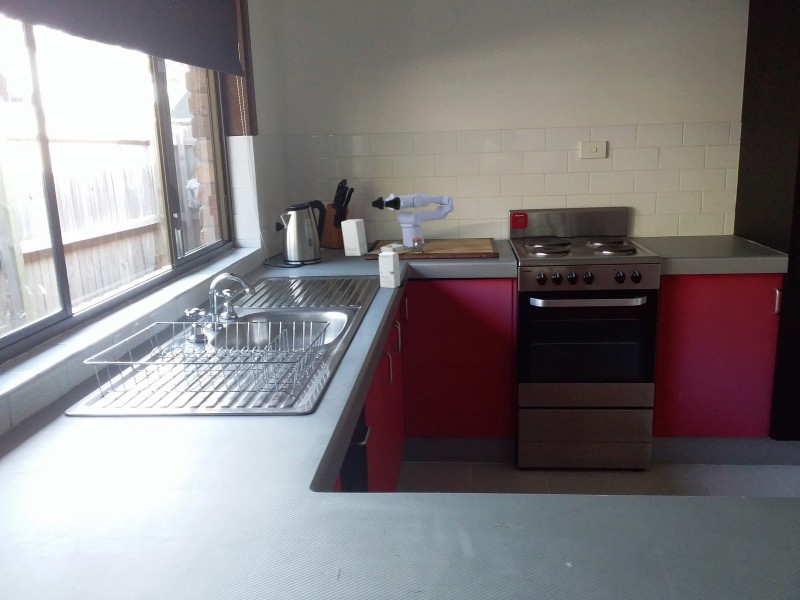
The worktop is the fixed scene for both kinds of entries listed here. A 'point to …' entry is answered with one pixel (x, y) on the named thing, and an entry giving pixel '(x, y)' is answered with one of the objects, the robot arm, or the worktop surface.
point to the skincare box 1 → (354, 237)
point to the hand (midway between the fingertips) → (378, 204)
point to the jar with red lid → (417, 244)
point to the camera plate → (392, 248)
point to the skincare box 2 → (389, 269)
